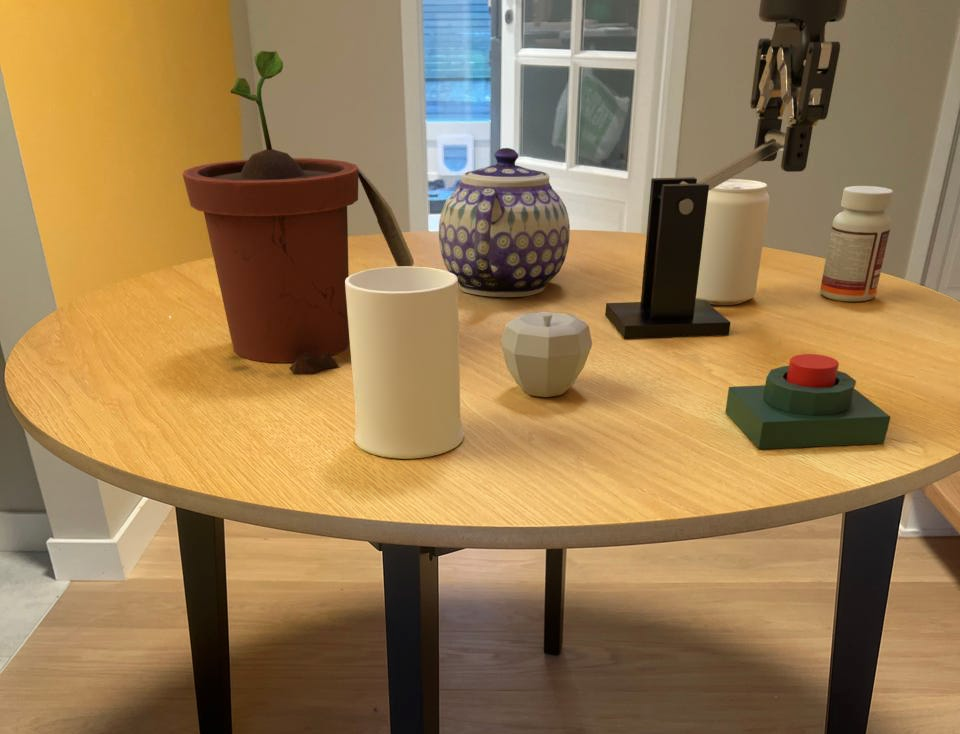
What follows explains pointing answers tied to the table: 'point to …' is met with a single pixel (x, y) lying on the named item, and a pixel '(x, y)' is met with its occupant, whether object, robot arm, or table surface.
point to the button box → (805, 413)
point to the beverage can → (732, 242)
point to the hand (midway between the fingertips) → (777, 165)
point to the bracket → (671, 268)
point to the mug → (405, 360)
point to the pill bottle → (857, 244)
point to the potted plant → (285, 244)
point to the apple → (546, 351)
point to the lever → (746, 160)
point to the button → (812, 370)
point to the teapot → (504, 230)
